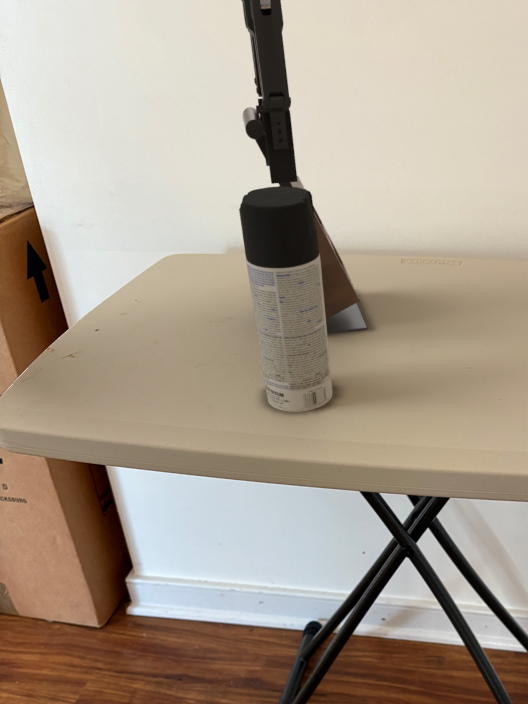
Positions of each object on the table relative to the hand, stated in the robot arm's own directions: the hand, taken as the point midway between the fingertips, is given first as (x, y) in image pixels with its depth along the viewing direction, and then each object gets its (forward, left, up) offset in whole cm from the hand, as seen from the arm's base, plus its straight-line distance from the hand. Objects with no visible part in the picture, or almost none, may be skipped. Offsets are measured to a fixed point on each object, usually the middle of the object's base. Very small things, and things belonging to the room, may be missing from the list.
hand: (281, 172), depth 82 cm
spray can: (+15, -13, -17) cm, 27 cm away
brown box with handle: (+2, +3, -14) cm, 15 cm away
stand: (+2, +3, -17) cm, 17 cm away
